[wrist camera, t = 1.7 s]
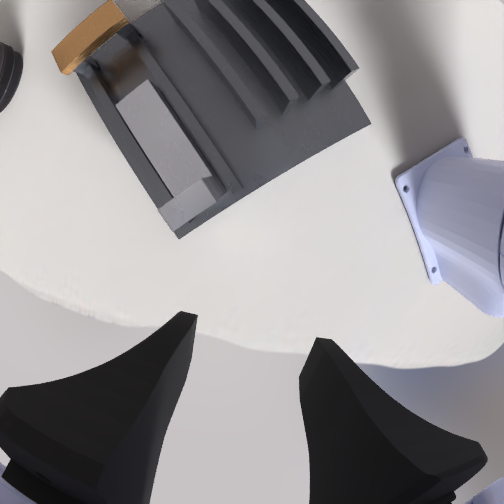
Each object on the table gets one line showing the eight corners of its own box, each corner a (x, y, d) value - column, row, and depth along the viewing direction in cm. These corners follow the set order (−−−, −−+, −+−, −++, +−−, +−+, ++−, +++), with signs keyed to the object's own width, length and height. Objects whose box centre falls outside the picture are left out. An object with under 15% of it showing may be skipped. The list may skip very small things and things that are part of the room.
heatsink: (364, 125, 15) (398, 116, 11) (183, 234, 18) (160, 258, 13) (240, -28, 12) (237, -65, 7) (82, 73, 14) (45, 58, 9)
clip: (227, 191, 16) (216, 202, 11) (193, 213, 16) (172, 231, 12) (155, 84, 14) (125, 63, 9) (125, 108, 14) (88, 96, 10)
